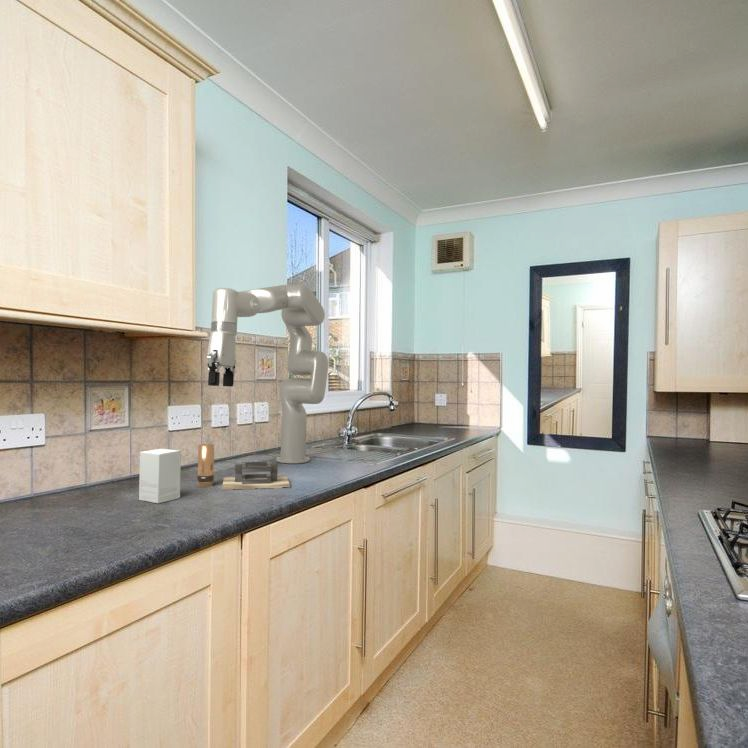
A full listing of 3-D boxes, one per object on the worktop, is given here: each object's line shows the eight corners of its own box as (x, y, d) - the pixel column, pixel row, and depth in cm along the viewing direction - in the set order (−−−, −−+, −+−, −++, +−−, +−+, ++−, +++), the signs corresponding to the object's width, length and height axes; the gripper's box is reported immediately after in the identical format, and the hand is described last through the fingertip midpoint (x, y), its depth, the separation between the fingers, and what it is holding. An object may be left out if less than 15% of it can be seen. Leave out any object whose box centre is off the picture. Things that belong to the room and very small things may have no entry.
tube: (197, 484, 149) (198, 443, 149) (214, 483, 150) (215, 443, 150) (196, 487, 145) (197, 446, 145) (213, 487, 146) (214, 446, 146)
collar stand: (223, 480, 155) (224, 461, 155) (285, 478, 160) (286, 459, 160) (222, 490, 143) (222, 469, 143) (290, 487, 148) (290, 467, 148)
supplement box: (181, 498, 133) (182, 450, 133) (157, 504, 126) (158, 454, 126) (161, 494, 136) (162, 447, 136) (137, 500, 130) (138, 451, 130)
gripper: (224, 332, 161) (221, 386, 161) (198, 325, 144) (195, 385, 144) (247, 333, 160) (244, 387, 160) (223, 326, 143) (219, 386, 143)
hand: (221, 386), depth 152 cm, fingers open, 9 cm apart
